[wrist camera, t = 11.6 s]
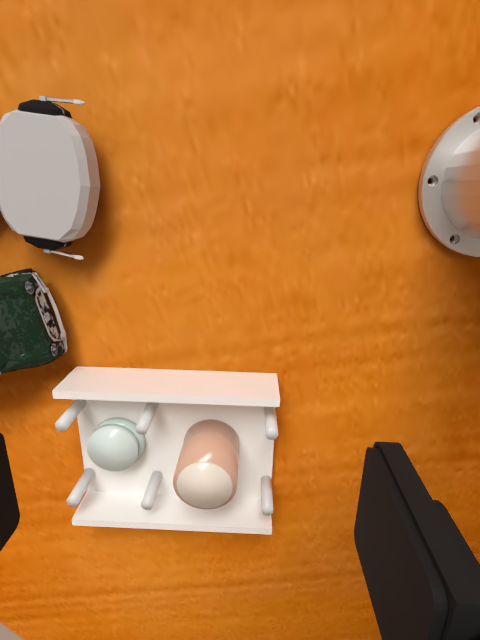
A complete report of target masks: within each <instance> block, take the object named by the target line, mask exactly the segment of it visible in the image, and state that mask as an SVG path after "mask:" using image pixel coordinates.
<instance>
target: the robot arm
mask: <svg viewBox="0 0 480 640" xmlns="http://www.w3.org/2000/svg"><path fill="white" fill-rule="evenodd" d="M473 117H475V122H473ZM429 178H430V179H431V183H430V184H428V179H429ZM418 201H419V207H420V213H421V215H422V218H423V220H424V223H425V225H426V227H427V228H428V230H429V231H430V233H431V234H432V236H434V237H435V238H436V239H437V240H438V241H439V242H440V243H441V244H442V245H444V246H446V247H447V248H449V249H451V250H453V251H455V252H458V253H461V254H464V255H469V256H473V257H480V106H479V107H476V108H474V109H472V110H470V111H469V112H467V113H465V114H464V115H462V116H460V117H459V118H458V119H457V120H455V121H454V122H453V123H452V124H451V125H450V126H449V127H447V128H446V129H445V131H444V132H443V133H442V134H441V135H440V137H439V138H438V139H437V140H436V141H435V143H434V145H433V146H432V148H431V150H430V151H429V153H428V155H427V157H426V160H425V162H424V165H423V167H422V170H421V175H420V180H419V185H418ZM451 236H452V240H451V241H450V237H451ZM19 519H20V512H19V507H18V503H17V498H16V493H15V488H14V484H13V479H12V474H11V469H10V464H9V460H8V455H7V450H6V445H5V440H4V437H3V435H2V434H1V433H0V551H1V550H2V548H3V547H4V545H5V544H6V543H7V541H8V540H9V538H10V537H11V535H12V534H13V533H14V531H15V530H16V528H17V526H18V523H19ZM354 537H355V544H356V548H357V552H358V555H359V559H360V562H361V566H362V570H363V573H364V577H365V580H366V584H367V587H368V591H369V594H370V598H371V602H372V605H373V609H374V612H375V616H376V619H377V623H378V626H379V630H380V634H381V637H382V640H480V565H479V563H478V561H477V560H476V558H475V556H474V555H473V553H472V551H471V550H470V548H469V546H468V544H467V543H466V541H465V539H464V538H463V536H462V534H461V533H460V531H459V529H458V528H457V526H456V524H455V523H454V521H453V519H452V518H451V516H450V514H449V513H448V511H447V509H446V508H445V506H444V505H443V504H442V503H441V502H439V501H438V500H432V498H431V496H430V495H429V493H428V491H427V489H426V488H425V486H424V484H423V482H422V481H421V479H420V477H419V475H418V474H417V472H416V470H415V468H414V467H413V465H412V463H411V461H410V459H409V458H408V456H407V454H406V452H405V451H404V449H403V447H402V446H401V444H400V443H394V442H375V444H374V446H373V448H370V447H368V448H367V450H366V455H365V461H364V468H363V475H362V482H361V488H360V495H359V502H358V508H357V515H356V522H355V529H354Z"/></svg>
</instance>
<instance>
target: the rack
mask: <svg viewBox="0 0 480 640" xmlns="http://www.w3.org/2000/svg"><path fill="white" fill-rule="evenodd" d="M52 394H53V398H54V399H75V400H74V402H73V403H72V404H71V405H70V406H69V408H68V409H67V410H66V411H65V412H64V413H63V415H62V416H61V417H60V418H59V419H58V421H57V422H56V423H55V427H56V429H57V430H58V431H61V432H63V431H66V430H67V429H68V427H69V426H70V425H71V424H72V422H73V421H74V420H75V418H76V417H77V418H78V425H79V433H80V440H81V448H82V456H83V463H84V472H83V474H82V476H81V477H80V479H79V481H78V482H77V484H76V486H75V487H74V489H73V491H72V492H71V494H70V496H69V497H68V499H67V504H68V505H69V506H72V507H75V506H77V505H78V504H79V502H80V500H81V498H82V496H83V495H84V493H85V491H86V489H87V492H86V494H85V496H84V498H83V500H82V501H81V503H80V505H79V507H78V509H77V510H76V512H75V514H74V516H73V518H72V525H78V526H99V527H121V528H142V529H163V530H185V531H206V532H227V533H249V534H270V535H272V519H271V514H273V494H272V466H273V449H274V440H275V439H276V438H277V437H278V426H277V415H276V407H280V394H279V386H278V378H277V373H250V372H222V371H194V370H166V369H138V368H110V367H82V366H76V367H75V368H74V369H73V370H72V371H71V372H70V373H69V374H68V375H67V376H66V377H65V378H64V379H63V380H62V381H61V382H60V383H59V384H58V385H57V386H56V387H55V388H54V389H53V390H52ZM113 417H121V418H126V419H129V420H131V421H133V422H135V423H136V424H137V425H136V427H135V431H136V432H137V433H138V434H140V435H144V434H145V438H146V446H145V449H144V451H143V454H142V456H141V458H140V459H139V460H138V461H137V462H136V463H134V464H132V465H131V466H130V467H129V468H127V469H125V470H122V471H108V470H104V469H102V468H100V467H98V466H97V465H96V464H95V463H93V461H92V460H91V459H90V457H89V455H88V453H87V443H88V440H89V438H90V437H91V435H92V434H93V432H94V431H95V430H96V428H97V427H98V425H99V424H100V423H101V422H103V421H104V420H106V419H109V418H113ZM209 419H212V420H219V421H222V422H224V423H226V424H228V425H229V426H231V427H232V428H233V429H234V430H235V432H236V433H237V435H238V437H239V441H240V448H239V464H238V480H237V490H236V493H235V495H234V497H233V498H232V500H231V501H230V502H228V503H227V504H226V505H224V506H222V507H219V508H216V509H199V508H195V507H192V506H190V505H188V504H186V503H185V502H183V501H182V500H181V499H180V498H179V497H178V496H177V494H176V492H175V490H174V487H173V477H174V473H175V470H176V466H177V463H178V459H179V455H180V452H181V448H182V445H183V441H184V437H185V434H186V432H187V430H188V429H189V428H190V427H191V426H192V425H193V424H195V423H197V422H199V421H202V420H209Z"/></svg>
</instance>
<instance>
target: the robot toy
mask: <svg viewBox="0 0 480 640" xmlns="http://www.w3.org/2000/svg"><path fill="white" fill-rule="evenodd" d="M52 102H62V103H73V104H78V105H83V104H84V103H85V102H83V101H81V100H76V99H74V100H67V99H55V98H50V97H47V96H39V100H30V101H27V102H23V103H20V104H19V107H18V109H17V110H14V111H12V112H9V113H6V114H4V116H3V118H2V119H1V121H0V210H1V213H2V215H3V217H4V219H5V221H6V222H7V224H8V225H9V227H10V228H11V229H12V230H13V231H15V232H16V233H18V234H20V235H22V236H24V239H25V241H26V242H28V243H30V244H32V245H34V246H36V247H38V248H43V249H44V252H45V253H56V254H60V255H64V256H68V257H72V258H74V259H78V260H80V259H84V258H83V256H80V255H73V254H69V253H64V252H60V251H56V249H60V248H64V247H67V246H70V245H71V243H72V241H73V240H76V239H79V238H81V237H84V236H85V235H86V233H87V232H88V231H89V229H90V228H91V226H92V224H93V221H94V218H95V214H96V211H97V205H98V199H99V193H100V187H101V186H100V178H99V170H98V162H97V157H96V153H95V148H94V145H93V142H92V139H91V138H90V136H89V134H88V132H87V131H86V129H85V127H83V126H82V125H81V124H79V123H78V122H76V121H75V120H73V119H72V117H71V114H70V112H69V111H67V110H65V109H64V108H62V107H61V106H59V105H57V104H55V103H52Z"/></svg>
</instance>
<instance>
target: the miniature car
mask: <svg viewBox="0 0 480 640" xmlns="http://www.w3.org/2000/svg"><path fill="white" fill-rule="evenodd" d="M40 283H41V284H40ZM42 286H43V287H42ZM43 288H44V289H43ZM46 292H47V294H48V297H49V299H50V302H51V304H52V307H53V309H54V312H55V315H56V318H57V321H58V325H59V328H60V331H61V334H60V332H59V330H58V327H57V325H56V322H55V320H54V317H53V314H52V312H51V309H50V307H49V304H48V302H47V299H46V297H45V294H44V293H46ZM67 348H68V347H67V338H66V331H65V330H64V327H63V324H62V321H61V318H60V315H59V312H58V309H57V306H56V304H55V302H54V300H53V298H52V296H51V293H50V291H49V287H48V288H47V287H46V286H45V284H44V283H43V281H42V280H41V279H40V277H39V276H38V274H37V273H36V272H33V271H32V269H24V270H20V271H16V272H13V273H9V274H5V275H2V276H0V375H1V373H5V372H11V371H16V370H20V369H26V368H32V367H39V366H41V365H43V364H48V363H50V362H52V361H54V360H55V359H57V358H58V357H60V356H61V355H62V354H65V353H66V352H67Z"/></svg>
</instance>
